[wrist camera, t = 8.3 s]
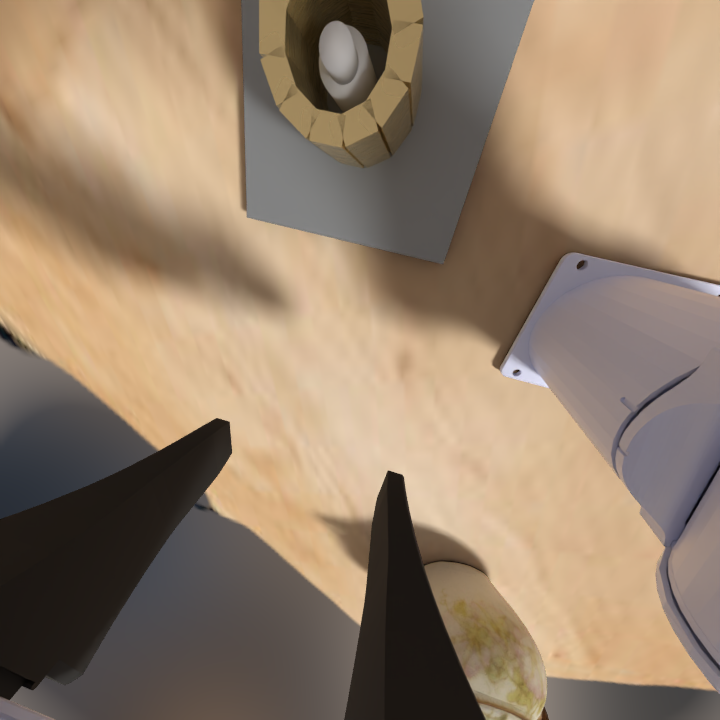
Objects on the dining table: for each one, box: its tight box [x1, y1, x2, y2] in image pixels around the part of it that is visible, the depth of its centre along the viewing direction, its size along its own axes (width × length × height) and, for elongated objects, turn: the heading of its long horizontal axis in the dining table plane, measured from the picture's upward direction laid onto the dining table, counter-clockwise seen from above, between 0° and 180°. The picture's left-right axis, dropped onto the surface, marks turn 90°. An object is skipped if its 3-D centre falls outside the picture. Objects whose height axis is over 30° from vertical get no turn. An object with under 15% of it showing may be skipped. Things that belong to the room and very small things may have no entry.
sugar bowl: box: [424, 561, 549, 720], centre depth 26 cm, size 20×15×15 cm
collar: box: [259, 0, 423, 168], centre depth 10 cm, size 5×5×4 cm
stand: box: [241, 0, 534, 264], centre depth 11 cm, size 12×12×6 cm
